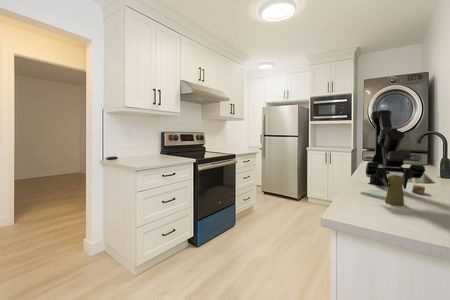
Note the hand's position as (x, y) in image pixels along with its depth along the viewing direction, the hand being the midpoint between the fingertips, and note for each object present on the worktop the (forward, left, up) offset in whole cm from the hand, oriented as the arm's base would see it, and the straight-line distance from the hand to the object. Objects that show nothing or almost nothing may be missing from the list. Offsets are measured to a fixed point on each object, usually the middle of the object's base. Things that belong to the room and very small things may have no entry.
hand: (396, 187), depth 87 cm
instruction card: (-9, +27, -7) cm, 29 cm away
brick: (-3, +28, -6) cm, 29 cm away
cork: (-1, +1, -7) cm, 7 cm away
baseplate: (-10, +9, -7) cm, 15 cm away
